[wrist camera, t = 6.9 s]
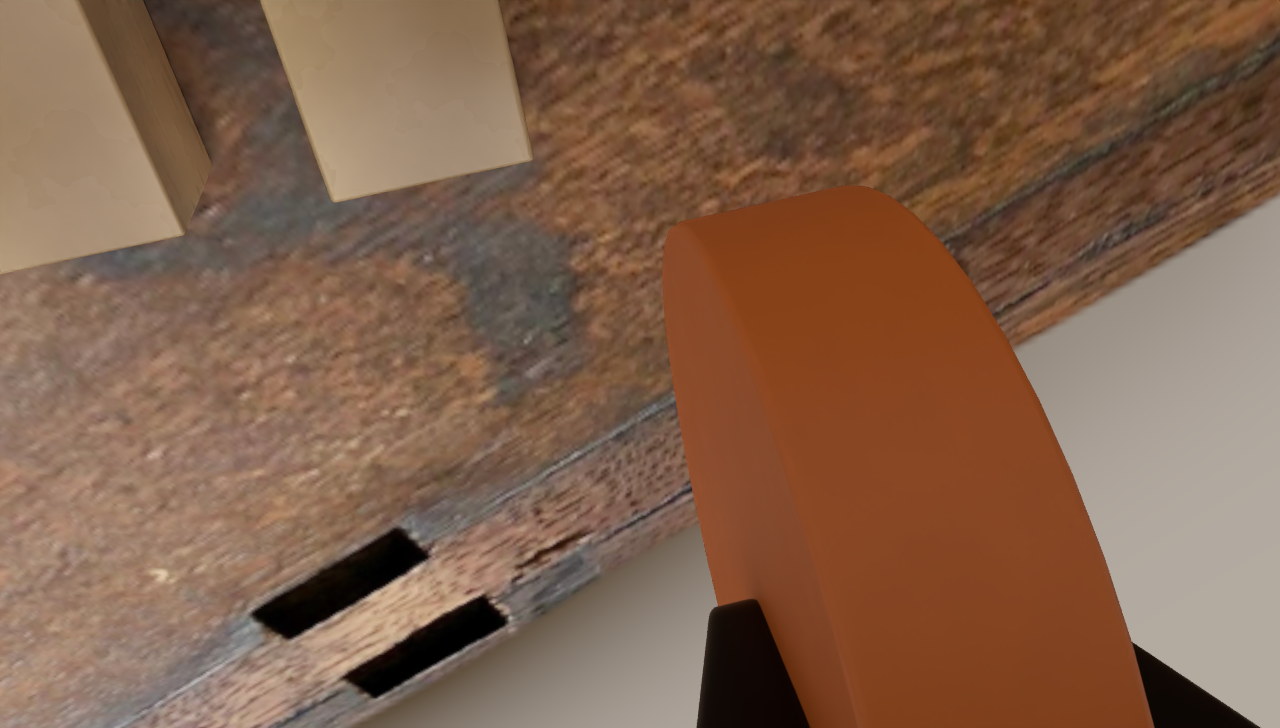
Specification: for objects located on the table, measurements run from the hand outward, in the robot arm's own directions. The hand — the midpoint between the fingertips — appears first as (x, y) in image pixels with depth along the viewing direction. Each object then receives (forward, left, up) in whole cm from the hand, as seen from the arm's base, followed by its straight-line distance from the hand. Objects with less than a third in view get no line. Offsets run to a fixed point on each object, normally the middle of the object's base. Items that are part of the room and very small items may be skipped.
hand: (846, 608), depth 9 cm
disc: (0, 0, -4) cm, 4 cm away
